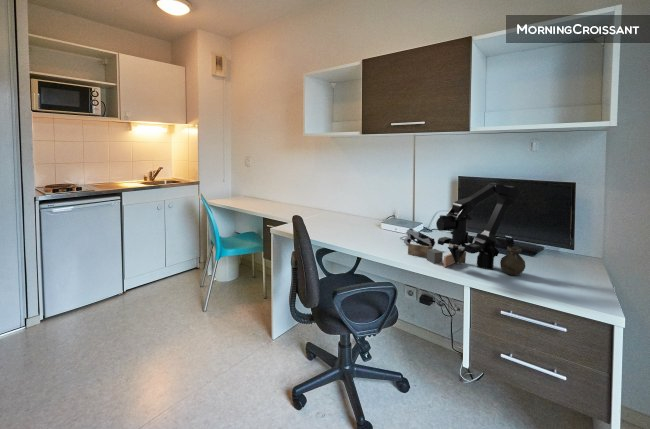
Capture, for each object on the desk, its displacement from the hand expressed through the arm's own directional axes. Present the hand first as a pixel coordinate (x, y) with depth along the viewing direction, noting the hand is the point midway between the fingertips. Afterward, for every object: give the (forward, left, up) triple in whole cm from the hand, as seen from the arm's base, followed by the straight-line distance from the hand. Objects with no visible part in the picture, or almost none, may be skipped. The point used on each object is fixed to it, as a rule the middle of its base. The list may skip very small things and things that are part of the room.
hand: (456, 263), depth 156 cm
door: (+4, -5, -3) cm, 7 cm away
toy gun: (+25, -27, -3) cm, 37 cm away
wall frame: (+12, -11, -3) cm, 17 cm away
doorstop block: (+11, -6, -3) cm, 13 cm away
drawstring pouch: (-22, -7, -3) cm, 23 cm away
